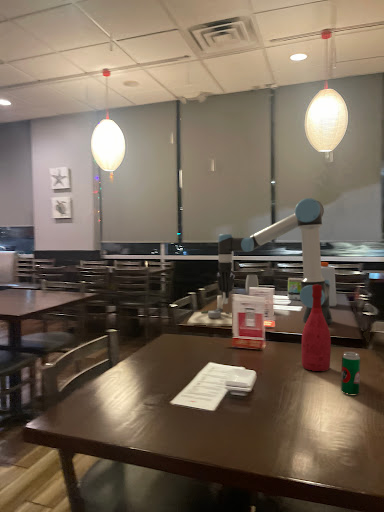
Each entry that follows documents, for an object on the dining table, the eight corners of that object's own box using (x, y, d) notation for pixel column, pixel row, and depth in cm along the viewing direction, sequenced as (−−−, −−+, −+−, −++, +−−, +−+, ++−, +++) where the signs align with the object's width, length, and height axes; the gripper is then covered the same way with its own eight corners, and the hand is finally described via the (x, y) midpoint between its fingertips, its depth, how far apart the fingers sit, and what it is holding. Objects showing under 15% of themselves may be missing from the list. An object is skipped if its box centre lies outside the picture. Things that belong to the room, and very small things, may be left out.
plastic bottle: (338, 307, 244) (339, 263, 242) (314, 307, 244) (315, 263, 242) (330, 302, 259) (331, 261, 257) (307, 302, 259) (308, 261, 257)
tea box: (288, 299, 269) (288, 279, 268) (287, 297, 279) (287, 277, 278) (310, 300, 267) (311, 279, 266) (308, 298, 277) (309, 277, 276)
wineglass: (258, 307, 244) (258, 274, 242) (259, 310, 235) (259, 276, 234) (244, 307, 245) (244, 274, 243) (245, 309, 236) (245, 276, 235)
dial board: (239, 315, 219) (239, 311, 219) (237, 327, 194) (237, 321, 194) (194, 314, 224) (194, 309, 223) (187, 325, 198) (187, 320, 198)
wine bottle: (330, 364, 139) (331, 283, 137) (330, 374, 130) (332, 287, 127) (301, 362, 142) (303, 282, 140) (300, 371, 133) (301, 285, 131)
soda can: (357, 397, 111) (358, 357, 111) (339, 393, 114) (340, 354, 113) (360, 391, 116) (361, 352, 115) (342, 388, 118) (343, 350, 118)
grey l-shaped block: (218, 318, 204) (218, 300, 203) (206, 317, 207) (206, 299, 206) (226, 313, 217) (226, 295, 216) (215, 312, 220) (215, 295, 219)
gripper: (238, 261, 211) (238, 304, 213) (220, 260, 220) (220, 301, 221) (230, 262, 206) (230, 306, 207) (212, 261, 214) (212, 303, 216)
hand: (225, 303), depth 214 cm, fingers closed
